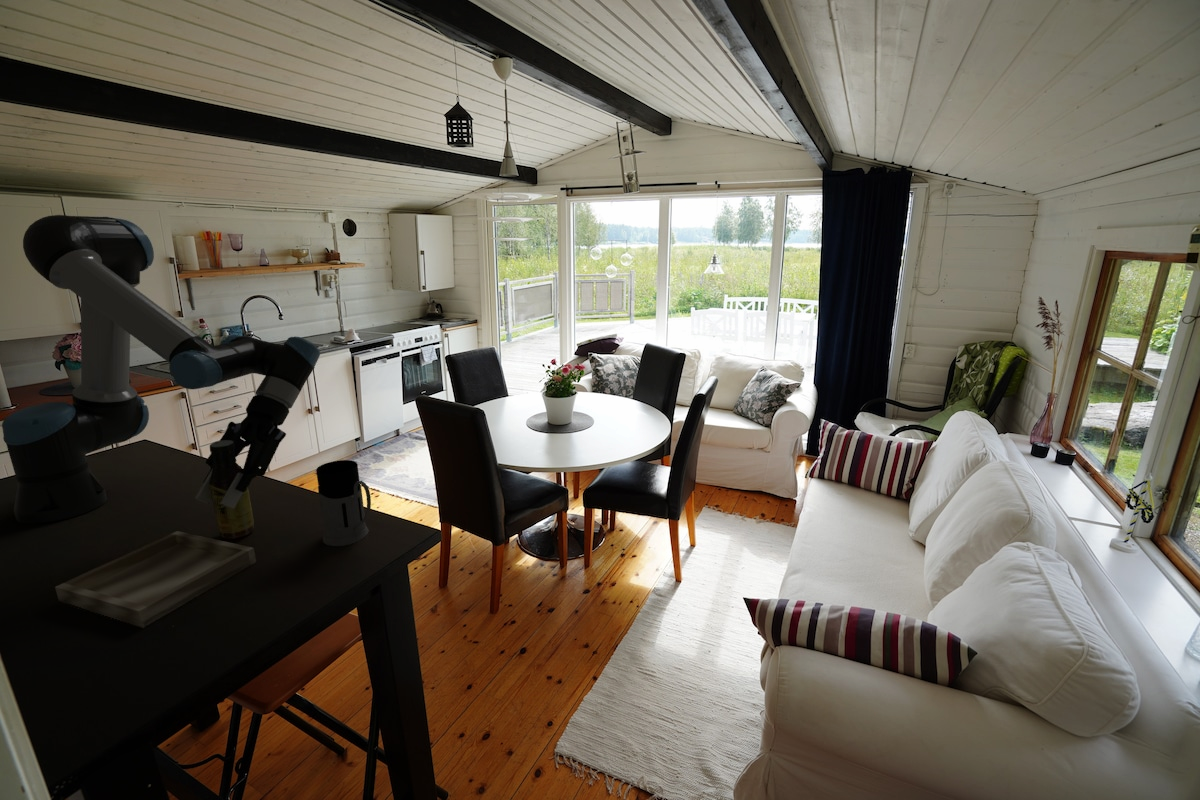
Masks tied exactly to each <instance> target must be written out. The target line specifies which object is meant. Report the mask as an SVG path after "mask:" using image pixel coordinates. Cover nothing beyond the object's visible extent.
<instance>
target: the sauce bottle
mask: <svg viewBox="0 0 1200 800" xmlns="http://www.w3.org/2000/svg"><path fill="white" fill-rule="evenodd" d="M234 448H235V446H234V442H233V441H232V440H222V441H220V440H218V441H214V442H212V443H210V445H209V451H210V454H211V453H212V457H213V469H212V474H211V479H210V489H211V494H212V499H211V500H212V504H213V510H214V514H215V519H216V524H217V529H218V531H219V535H220V537H221V538H222V539H227V540H236V539H238V538H244V537H245V536H249V535H250V534H251V533H252V532H253V531H254V530H255V525H254V523H255V520H254V515H253V509H252V503H251V498H250V492H249V491H250V490H249V486H248V487H247V489H246V491H245V492H243V493H242V495H241V497H240V499H239V501H238V502H237V504H236V506H235V508H234V509H232V508H229V507H227V506H225V505H223V504H220V503H221V501H222V500H223V498H224V496H225V494H226V493H227V491H228V489H229V487H230V486H231V484H232V482H233V480H234V479H235V477H236V475H237V473H242V472H240V470H241V469H243V468H242V466H241V465H239V463H237V457H236V458H235V453H234ZM242 474H244V473H242Z"/></svg>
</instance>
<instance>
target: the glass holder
mask: <svg viewBox="0 0 1200 800" xmlns="http://www.w3.org/2000/svg"><path fill="white" fill-rule="evenodd" d="M358 465H359V464H358V462H357V461H354V460H348V459H342V460H334V461H329V462H326V463H323V464H321V465H319V466H318V467H316V469H315V472H316V478H317V479H316V481H317V492H318V501H319V507H320V514H321V521H322V528H323V536H322V539H321V540H322V543H324V544H325V545H327V546H330V545H331V546H332V547H343V546H348V545H352V543H353V544H355V542H356V543H358V542H360V541H362V540H364V539H365V538H366V537H367V536H368V535H369V533H368V532H370V530H369V527H367V524H366V520H367V519H368V518H369V516H370V512H371V509H372V508H371V507H372V502H371V493H370V489H369V487H368V485H367V484H366V483H365V481H363V480H360V475H359V473H360V472H359V467H358ZM362 487H363V489H364V491H365V496H366V511H365V508H364V507H365V506H364V501H363V500H364V499H363V491H362ZM367 534H368V535H367ZM366 535H367V536H366ZM365 536H366V537H365ZM364 537H365V538H364ZM363 538H364V539H363ZM361 539H362V540H361Z"/></svg>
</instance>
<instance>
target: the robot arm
mask: <svg viewBox="0 0 1200 800" xmlns="http://www.w3.org/2000/svg"><path fill="white" fill-rule="evenodd" d="M22 248H23V251H24V255H25V258H26V259H27V261H28V262H29V264H30V266H31V267H32V268H33V269H34V270H35V271H36V272H37V273H38V274H39V275H40V276H42V277H43V279H45V280H47V281H48V282H49V283H51V284H52V285H53V286H54V287H57V288H58V289H63V290H70V291H71V292H72V293H74V294H75V295H76V296H78V297H79V298H80V370H81V371H80V373H81V375H80V379H81V380H80V384H79V385H78V386H76V387H74V389H72V398H71V399H72V403H70V402H67V401H50V402H45V403H42V404H35V405H31V406H28V407H24V408H21V409H18V410H17V411H15V412H12V413H10V414H8V415H7V416H6V417H5V418H4V419H3V421H2V423H1V429H2V432H3V434H2V435H3V441H4V443H5V444H6V449H7V451H8V455H9V458H10V461H11V465H12V468H13V472H14V476H15V478H16V482H17V490H16V494H15V500H14V506H13V513H14V516H15V520H16V521H17V522H18V523H21V524H27V525H28V524H29V525H30V524H32V525H33V524H34V525H35V524H44V523H51V522H58V521H61V520H66V519H70V518H74V517H77V516H79V515H82V514H83V515H84V514H86V513H89V512H91V511H93V510H95V509H97V508H99V507H101V506H103V504H105V503H106V502H107V500H108V496H107V492H106V490H105V488H104V487H103V485H102V484H101V483H100V482H99V480H98V478H97V477H96V476H95V475H94V474H93V472H92V471H91V470H90V467H89V463H88V458H87V455H89V454H90V453H93V452H95V451H98V450H101V449H105V448H106V447H110V446H112V445H116V444H121V443H124V442H126V441H128V440H130V439H132V438H134V437H136V436H138V435H140V434H141V433H142V432H143V431H144V430H145V429H146V427H147V426H148V423H149V419H150V413H149V407H148V405H147V404H145V400H144V399H143V398H142V397H141V396H140V395H139V394H138V392H137V389H135V388H134V387H132V386H131V385H130V367H131V365H130V362H131V358H130V357H131V356H130V354H131V336H132V337H133V338H135V339H136V340H138V341H139V342H140V343H141V344H143V345H144V346H146V347H147V348H148V349H150V350H152V351H153V352H154V353H155V354H157V355H158V356H159V357H161V358H162V359H163V360H165V361H166V362H167V363H169V368H168V369H169V374H170V376H171V377H172V378H173V379H174V382H175V383H176V384H177V385H179V386H180V387H182V388H184V389H186V390H197V389H202V388H209V387H213V386H216V385H217V384H222V383H224V382H227V381H230V380H233V379H237V378H241V377H244V376H247V375H251V374H256V375H257V374H258V375H260V376H261V375H262V376H264V378H263V379H262V381H260V383H259V386H258V387H257V388H256V390H255V395H253V396H252V398H251V400H250V401H249V403H248V404H247V406H246V408H245V412H246V416H245V418H243V420H241V422H237V423H236V422H234V421H230V422H229V423H228V424H227V427H226V429H225V430H226V431H225V432H224V433H223V435H222V437H221V438H220V440H219V441H222V440H232V441H233V442H234V446H235V448H234V453H235V458H236V459H237V457H238V456H239V455H240V454H241V452H242V451H243V450H244V449H245V448H246V447H249V448H248V450H247V451H248V452H247V454H246V458H245V462H244V464H243V468H242V469H241V470H240V472H242V473H244V474H242V473H237V475H236V477H235V479H234V480H233V482H232V484H231V486H230V487H229V489H228V491H227V493H226V494H225V496H224V498H223V500H222V501H221V503H220V504H223V505H225V506H227V507H229V508H232V509H234V508H235V506H236V504H237V502H238V501H239V499H240V497H241V495H242V493H243V492H245V491H246V489H247V487H248V488H249V485H250V484H251V482H252V480H253V479H255V478H256V477H259V476H260V477H264V476H265V475H266V473H267V470H268V468H269V466H270V464H271V463H272V460H273V458H274V456H275V454H276V452H277V450H278V447H279V445H280V443H281V442H283V440H284V439H285V437H286V435H287V433H286V432H285V431H283V430H282V429H280V428H279V427H278V426H282V425H283V424H284V422H285V420H286V419H287V417H288V415H289V413H290V409H292V407H293V406H294V403H296V401H297V399H298V397H299V395H300V393H301V391H302V389H303V387H304V386H305V384H306V382H307V380H308V378H309V377H310V375H311V374H312V373H313V370H314V369H315V367H316V364H317V363H318V361H319V358H320V356H321V352H320V349H319V348H318V346H316V344H315V343H313V342H312V341H310V340H309V339H306V338H304V337H301V336H290V337H288V338H287V340H286V341H284V343H283V344H280V343H275V342H269V341H266V340H261V339H257V338H254V337H252V336H248V335H239V334H230V335H227V336H226V337H225V339H222V340H221V342H220V344H218V345H217V344H216V345H212V344H210V343H209V342H208V341H206V340H205V339H204V338H202V337H201V336H199V335H198V334H197V333H195V331H193V330H192V329H190V328H189V327H187V326H186V325H185V324H184V323H182V322H181V321H179V320H178V319H177V318H175V317H174V316H173V315H171V314H170V313H169V312H167V311H166V310H165V309H163V308H162V307H161V306H159V305H158V304H156V303H155V302H154V301H153V300H152V299H150V298H149V297H148V296H146V295H145V294H143V293H142V292H140V290H138V289H137V288H136V287H137V286H138V285H140V283H141V281H140V280H141V278H140V277H141V272H144V271H146V270H147V269H149V267H150V266H152V264H153V262H154V258H155V253H154V247H153V244H152V241H151V240H150V237H148V235H147V234H145V232H144V230H143V229H142V228H141V227H140V226H138V225H137V224H135V223H133V222H132V221H129V220H127V219H123V218H116V217H109V216H90V215H89V216H86V215H85V216H83V215H82V216H81V215H66V214H65V215H64V214H55V215H47V216H44V217H41V218H39V219H37V220H35V221H34V222H33V223H31V224H30V225H29V226H28V228H27V229H26V230H25V232H24V235H23V239H22ZM205 464H206V465H208V466H209V467H210V469H209V471H208V473H207V474H206V476H205V478H204V480H203V481H202V486H200V488H199V491H198V492H197V493H196V495H195V497H194V499H195V500H197V501H200V502H202V503H203V504H206V505H207V504H209V503H210V502H211V500H212V494H211V489H210V479H211V474H212V469H213V457H212V453H211V452H210V454H209V456H208V457H207V459H206V460H205Z"/></svg>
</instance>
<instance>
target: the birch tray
mask: <svg viewBox="0 0 1200 800" xmlns="http://www.w3.org/2000/svg"><path fill="white" fill-rule="evenodd" d="M255 552H256V551H255V548H254V547H251V546H247V545H242V544H237V543H233V542H229V541H225V540H224V541H223V540H221V539H214V538H210V537H206V536H201V535H196V534H193V533H187V532H183V531H178V530H176V531H174V532H172V533H169V534H167V535H166V536H164V537H161V538H159V539H157V540H155V541H152V542H150V543H148V544H145V545H143V546H142V547H139V548H137V549H134V550H132V551H131V552H129V553H126V554H124V555H121V556H119V557H117V558H115V559H113V560H111V561H108V562H106V563H104V564H102V565H100V566H98V567H95V568H93V569H90V570H89V571H87V572H85V573H82V574H80V575H77V576H75V577H74V578H71V579H69V580H67V581H65V582H63V583H60V584H59V585H56V586H54V588H55V592H56V595H57V596H56V597H57V599H58V602H59V601H61V602H65V603H68V604H72V605H75V606H78V607H81V608H83V609H86V610H89V611H91V612H90V613H92V612H94V613H93V614H95V613H98V614H101V615H100V616H102V615H104V616H103V617H105V616H108V617H111V618H110V619H112V618H114V619H113V620H115V619H117V620H116V621H118V620H120V621H119V622H122V621H123V622H122V623H125V622H126V624H128V623H129V625H132V626H135V627H139V628H141V629H144V628H146V627H147V626H149V625H151V624H152V623H155V622H156V621H158V620H159V619H161V618H163V617H165V616H166V615H168V614H170V613H172V612H174V611H175V610H177V609H178V608H180V607H182V606H183V605H186V604H187V603H189V602H190V601H192V600H194V599H195V598H198V597H199V596H200V595H201V596H202V594H204V593H206V592H208V591H209V590H211V589H213V588H215V587H216V586H218V585H220V584H221V583H223V582H225V581H227V580H228V579H230V578H231V577H234V576H235V575H237V574H238V573H240V572H242V571H243V570H245V569H247V568H249V567H251V566H253V565H254V564H255V563H257V559H256V553H255ZM98 614H97V615H98ZM108 617H107V618H108Z"/></svg>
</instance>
